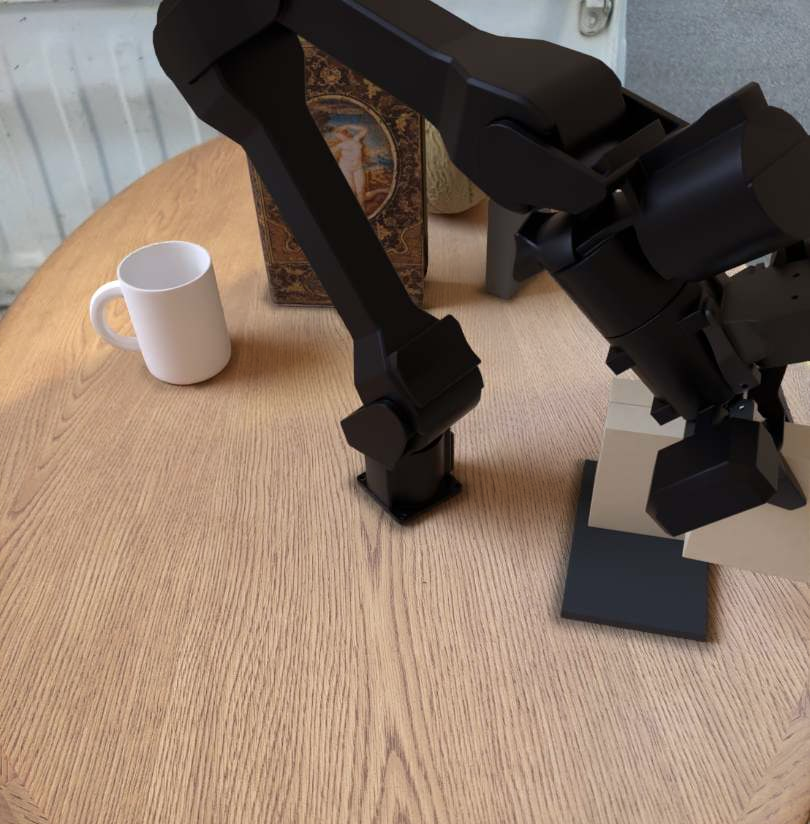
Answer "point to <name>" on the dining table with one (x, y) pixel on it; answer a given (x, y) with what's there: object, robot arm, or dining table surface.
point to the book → (355, 180)
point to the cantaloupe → (446, 179)
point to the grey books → (502, 250)
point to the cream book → (764, 526)
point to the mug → (169, 311)
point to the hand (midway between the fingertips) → (799, 487)
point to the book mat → (631, 532)
